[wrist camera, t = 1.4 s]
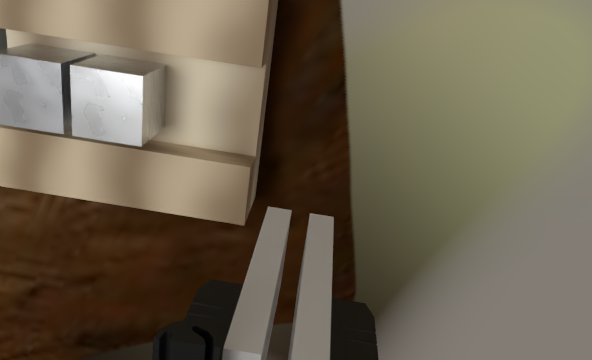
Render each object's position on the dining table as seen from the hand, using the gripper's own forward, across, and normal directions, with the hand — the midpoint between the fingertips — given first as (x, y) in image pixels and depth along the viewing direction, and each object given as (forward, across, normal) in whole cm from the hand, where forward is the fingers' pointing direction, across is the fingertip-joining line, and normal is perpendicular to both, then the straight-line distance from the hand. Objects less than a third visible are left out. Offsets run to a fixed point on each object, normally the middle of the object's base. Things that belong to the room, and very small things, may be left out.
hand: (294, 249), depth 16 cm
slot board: (+18, -12, 0) cm, 22 cm away
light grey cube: (+16, -12, 0) cm, 20 cm away
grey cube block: (+16, -16, 0) cm, 23 cm away
